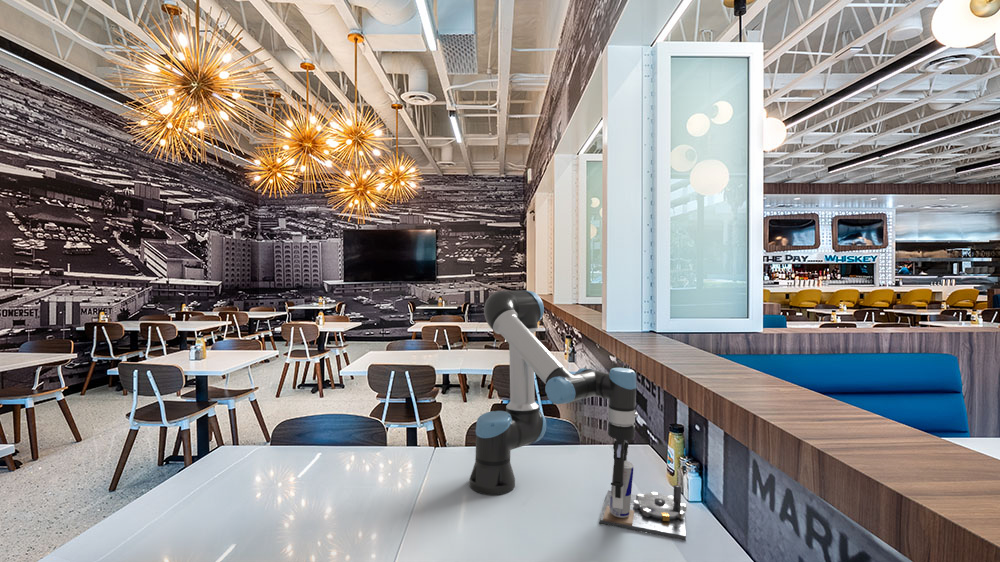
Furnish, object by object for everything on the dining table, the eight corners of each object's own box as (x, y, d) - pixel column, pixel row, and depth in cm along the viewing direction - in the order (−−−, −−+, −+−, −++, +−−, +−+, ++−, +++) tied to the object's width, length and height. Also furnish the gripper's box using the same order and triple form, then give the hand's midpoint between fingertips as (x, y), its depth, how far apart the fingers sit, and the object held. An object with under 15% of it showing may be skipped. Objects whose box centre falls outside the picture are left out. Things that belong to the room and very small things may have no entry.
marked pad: (603, 520, 138) (603, 517, 138) (606, 507, 146) (606, 505, 146) (632, 525, 136) (632, 523, 136) (634, 512, 143) (634, 510, 143)
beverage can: (629, 520, 137) (634, 469, 136) (609, 517, 138) (614, 466, 137) (628, 510, 143) (633, 460, 142) (608, 507, 144) (613, 457, 143)
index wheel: (668, 526, 135) (669, 496, 135) (623, 506, 147) (624, 478, 146) (696, 510, 145) (697, 482, 145) (651, 492, 156) (652, 465, 156)
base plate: (599, 523, 139) (599, 519, 139) (607, 493, 158) (608, 490, 158) (685, 540, 131) (685, 536, 131) (683, 506, 150) (683, 503, 150)
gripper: (632, 435, 129) (629, 520, 130) (637, 414, 149) (635, 488, 149) (603, 431, 132) (601, 515, 132) (612, 411, 151) (610, 484, 152)
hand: (619, 501), depth 141 cm, fingers open, 8 cm apart
